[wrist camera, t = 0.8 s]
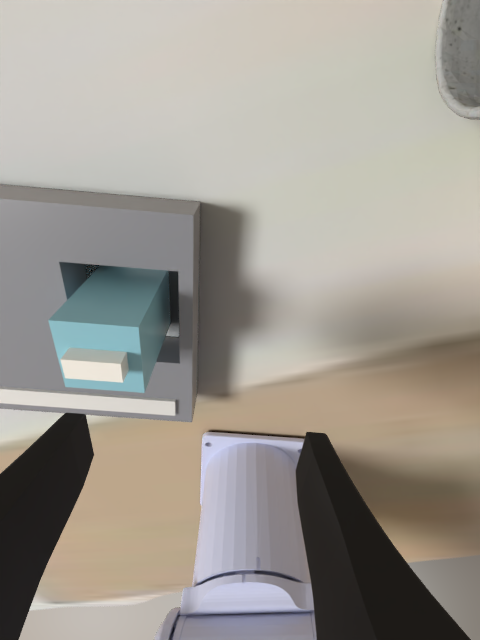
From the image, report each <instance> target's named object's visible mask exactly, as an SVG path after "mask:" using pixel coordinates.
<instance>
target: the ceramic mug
mask: <svg viewBox="0 0 480 640" xmlns="http://www.w3.org/2000/svg"><path fill="white" fill-rule="evenodd" d="M435 63H436V77H437V84H438V88H439V92H440V94H441V96H442V98H443V100H444V101H445V103H446V105H447V106H448V108H450V109H451V110H452V111H453V112H455V113H456V114H457V115H459V116H461V117H464V118H468V119H477V120H480V0H443V3H442V7H441V12H440V16H439V24H438V29H437V40H436V48H435Z"/></svg>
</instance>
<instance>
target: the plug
mask: <svg viewBox="0 0 480 640" xmlns="http://www.w3.org/2000/svg"><path fill="white" fill-rule="evenodd" d="M48 321H49V325H50V329H51V333H52V337H53V341H54V345H55V349H56V352H57V356H58V360H59V364H60V368H61V372H62V376H63V380H64V383H65V387H72V388H85V389H99V390H112V391H126V392H139V393H145V391H146V388H147V385H148V382H149V380H150V377H151V374H152V372H153V369H154V366H155V363H156V361H157V358H158V355H159V353H160V350H161V347H162V344H163V342H164V339H165V336H166V333H167V331H168V328H169V325H170V296H169V271H166V270H154V269H142V268H129V267H117V266H105V265H100V266H99V267H98V268H97V269H96V270H95V271H94V272H93V274H92V275H91V276H90V277H89V278H88V279H87V280H86V281H85V282H84V283H83V284H82V285H81V286H80V287H79V288H78V289H77V290H76V291H75V292H74V294H73V295H72V296H71V297H70V298H69V299H68V300H67V301H66V302H65V303H64V304H63V305H62V306H61V307H60V308H59V309H58V310H57V311H56V313H55V314H54V315H53V316H52V317H51V318H50V319H49V320H48Z"/></svg>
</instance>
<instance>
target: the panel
mask: <svg viewBox="0 0 480 640" xmlns="http://www.w3.org/2000/svg"><path fill="white" fill-rule="evenodd" d="M199 256H200V202H196V201H185V200H173V199H162V198H150V197H139V196H127V195H116V194H105V193H93V192H82V191H70V190H59V189H47V188H36V187H24V186H13V185H1V184H0V409H14V410H28V411H42V412H56V413H66V412H67V413H79V414H86V415H98V416H112V417H126V418H139V419H153V420H167V421H181V422H192V419H193V414H194V408H195V403H196V397H197V369H198V312H199ZM85 264H93V265H105V266H117V267H129V268H142V269H154V270H166V271H178V285H179V337H166V336H165V339H164V342H163V344H162V347H161V350H160V353H159V355H158V358H157V361H156V363H155V366H154V369H153V372H152V374H151V377H150V380H149V382H148V385H147V388H146V391H145V393H139V392H126V391H112V390H99V389H85V388H72V387H65V383H64V380H63V376H62V372H61V368H60V364H59V360H58V356H57V352H56V349H55V345H54V341H53V337H52V333H51V329H50V325H49V321H48V320H49V319H50V318H51V317H52V316H53V315H54V314H55V313H56V311H57V310H58V309H59V308H60V307H61V306H62V305H63V304H64V303H65V302H66V301H67V300H68V299H69V298H70V297H71V296H72V295H73V294H74V292H75V291H76V290H77V289H78V288H79V287H80V286H81V285H82V284H83V283H84V282H85V281H86V280H87V275H86V269H85Z"/></svg>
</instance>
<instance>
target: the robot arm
mask: <svg viewBox="0 0 480 640" xmlns="http://www.w3.org/2000/svg"><path fill="white" fill-rule="evenodd" d="M93 456H94V453H93V448H92V443H91V438H90V433H89V429H88V424H87V419H86V414H79V413H67V412H66V413H65V414H64V415H63V416H62V417H61V418H59V419H58V420H57V421H56V422H55V423H54V424H53V425H52V426H51V427H50V428H49V429H48V430H47V431H46V432H45V433H44V434H43V435H42V436H41V437H40V438H39V439H38V440H37V441H36V442H34V443H33V444H32V445H31V446H30V447H29V448H28V449H27V450H26V451H25V452H24V453H23V454H22V455H21V456H19V457H18V458H17V459H16V460H15V461H14V462H13V463H12V464H11V465H10V466H8V467H7V468H6V469H5V470H4V471H3V472H2V473H1V474H0V640H18V639H19V637H20V633H21V631H22V628H23V625H24V622H25V620H26V617H27V614H28V612H29V609H30V606H31V603H32V601H33V598H34V595H35V593H36V590H37V587H38V585H39V582H40V579H41V577H42V575H43V572H44V570H45V568H46V565H47V563H48V561H49V559H50V557H51V554H52V552H53V550H54V548H55V546H56V544H57V542H58V540H59V537H60V535H61V533H62V531H63V529H64V527H65V525H66V523H67V521H68V518H69V516H70V514H71V512H72V510H73V508H74V506H75V503H76V501H77V499H78V497H79V495H80V493H81V490H82V488H83V486H84V483H85V480H86V477H87V474H88V471H89V468H90V465H91V462H92V459H93ZM200 505H201V506H202V508H201V517H200V525H199V534H198V542H197V551H196V559H195V567H194V576H193V584H192V587H185V588H183V594H182V601H181V607H177V608H174V609H172V610H171V611H170V612H169V613H168V614H167V616H166V618H165V620H164V621H163V623H162V624H161V625H160V627H159V628H158V630H157V632H156V635H155V637H154V640H471V639H470V638H469V637H468V636H467V635H466V634H465V632H464V631H463V630H462V629H461V628H460V627H459V626H458V624H457V623H456V622H455V621H454V620H453V619H452V617H451V616H450V615H449V614H448V613H447V612H446V611H445V610H444V608H443V607H442V606H441V605H440V603H439V602H438V601H437V600H436V599H435V598H434V597H433V595H431V593H430V592H429V590H428V589H427V588H426V587H425V585H424V584H423V583H422V582H421V580H420V579H419V578H418V577H417V575H416V574H415V573H414V572H413V570H412V569H411V568H410V566H409V565H408V564H407V562H406V561H405V560H404V558H403V557H402V556H401V555H400V553H399V552H398V550H397V549H396V548H395V546H394V545H393V544H392V542H391V541H390V539H389V538H388V536H387V535H386V534H385V532H384V531H383V529H382V528H381V526H380V525H379V523H378V522H377V520H376V519H375V517H374V516H373V514H372V513H371V511H370V510H369V508H368V507H367V505H366V503H365V502H364V500H363V499H362V497H361V495H360V494H359V492H358V490H357V489H356V487H355V485H354V484H353V482H352V480H351V479H350V477H349V475H348V473H347V472H346V470H345V468H344V466H343V465H342V463H341V461H340V459H339V457H338V455H337V454H336V452H335V450H334V448H333V446H332V444H331V442H330V440H329V438H328V436H327V435H326V434H325V433H313V432H307V433H306V436H305V439H302V438H288V437H274V436H260V435H246V434H232V433H218V432H206V433H204V434H203V437H202V459H201V491H200Z"/></svg>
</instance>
